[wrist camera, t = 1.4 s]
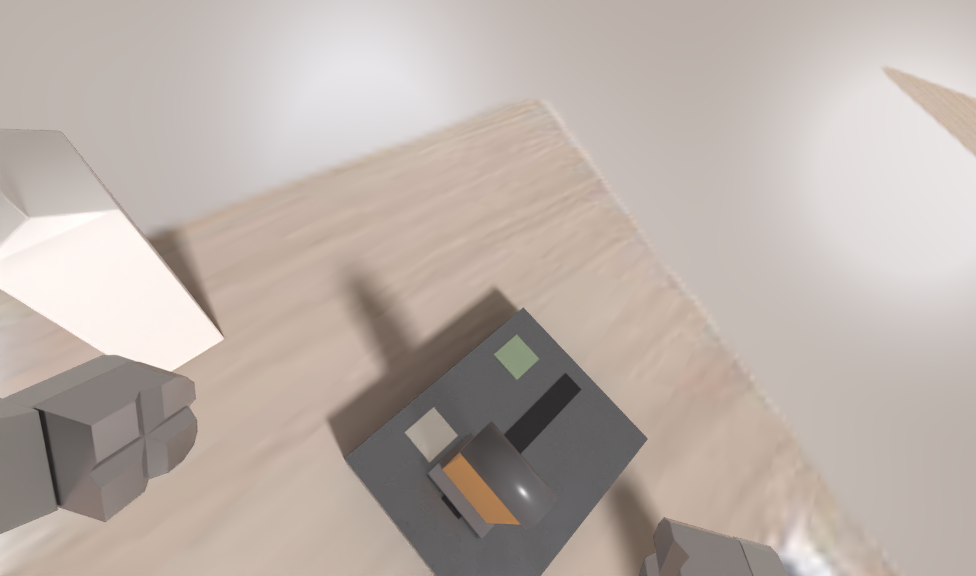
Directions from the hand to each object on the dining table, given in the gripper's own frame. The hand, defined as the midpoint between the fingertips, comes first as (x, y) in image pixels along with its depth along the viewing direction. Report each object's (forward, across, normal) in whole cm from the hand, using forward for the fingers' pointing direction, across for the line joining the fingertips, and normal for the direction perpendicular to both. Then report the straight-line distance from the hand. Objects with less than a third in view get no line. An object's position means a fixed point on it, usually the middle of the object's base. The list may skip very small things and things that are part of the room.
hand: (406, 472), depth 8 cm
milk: (+23, +28, +15) cm, 40 cm away
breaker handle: (+22, +1, +20) cm, 30 cm away
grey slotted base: (+27, 0, +21) cm, 34 cm away
